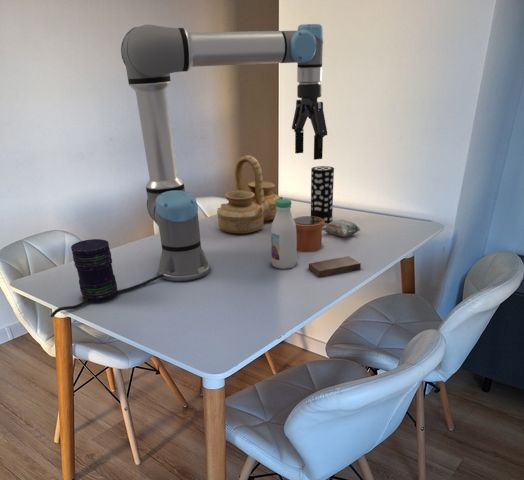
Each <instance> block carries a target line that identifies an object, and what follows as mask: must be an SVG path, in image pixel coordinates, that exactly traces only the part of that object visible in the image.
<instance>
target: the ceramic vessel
mask: <svg viewBox="0 0 524 480" xmlns="http://www.w3.org/2000/svg"><path fill="white" fill-rule="evenodd" d="M245 163H248V164H249V165H250V166H251V168H252V170H253V174H254V181H250V182H248V184H247V187H248V189H249V190H245V187H244V180H243V166H244V164H245ZM234 179H235V188H236V190H233V191H228V192H227V193H225V194H224V198H225V199H226V200H227V201H228V202H227V203H221V204H220V207H217V211H216V214H217V225H218V228H219V229H220V230H221V231H223V232H225V233H230V234H251V233H253V232H258V231H260V230H261V229H262V228H263V227H264V222H265V221H266V222H267V221H273V220H274V218H275V215H276V211H277V209H276V200H279V199H284V197H283V196H279V195H278V194H276V193H273V189H275V187H276V184H275V183H273V182H271V181H264V177H263V170H262V166H261V165H260V162H259V161H258V160H257V158H255V157H254V156H252V155H243V156H241V157H239V158H238V159H237V161H236V163H235V166H234Z"/></svg>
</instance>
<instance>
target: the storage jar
mask: <svg viewBox="0 0 524 480" xmlns="http://www.w3.org/2000/svg"><path fill="white" fill-rule="evenodd" d="M109 243H110V242H109V241H108V240H106V239H103V238H102V239H101V238H93V239H84V240H80V241H78V242H75V243H73V244H72V245H71V246H70V249H71V254H72V260H73V263H74V267H75V268H76V271H77V276H78V284H79V290H80V293H81V295H82V300H83V301H85V300H86V299H88V302H87V303H86V304H92V305H93V304H94V305H95V304H104V303H108V302H111V301H113V300H115V299H117V297H119V293H118V292H117V290H118V284H117V280H116V275H115V274H114V270H113V259H112V252H111V248H110V247H109V246H110V244H109Z"/></svg>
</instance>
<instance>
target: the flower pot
mask: <svg viewBox="0 0 524 480" xmlns="http://www.w3.org/2000/svg"><path fill="white" fill-rule="evenodd" d="M293 219H294V222H295V225H296V251H299V252H306V253H307V252H308V253H310V252H317V251H319V250H321V249H322V243H323V242H322V241H323V240H322V239H323V237H322V236H323V230H322V228H323V227H324V226H325V225H324V222H325V221H324V219H322V218H320V217H314V216H311V215H304V216H303V215H302V216H297V217H293Z"/></svg>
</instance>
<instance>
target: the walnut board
mask: <svg viewBox="0 0 524 480" xmlns="http://www.w3.org/2000/svg"><path fill="white" fill-rule="evenodd" d="M361 267H362V263H361V262H360V261H358V260H357V259H355V258H353V257H351V256H350V255H348V256H342V257H336V258H331V259H325V260H320V261H315V262H309V263H308V271H310V272H311V273H313V274H314V275H315V276H317V278H324V277H328V276H334V275H339V274H344V273H350V272H355V271H359V270H361Z"/></svg>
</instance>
